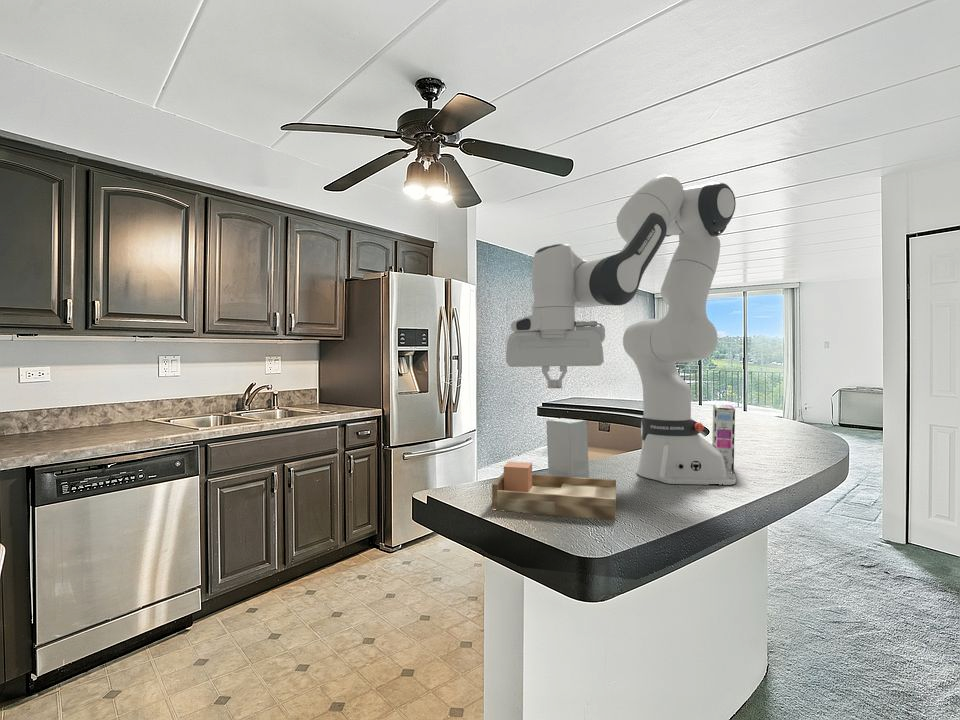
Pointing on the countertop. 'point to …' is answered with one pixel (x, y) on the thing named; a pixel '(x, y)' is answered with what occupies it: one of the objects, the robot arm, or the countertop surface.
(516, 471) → the block
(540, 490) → the wooden tray
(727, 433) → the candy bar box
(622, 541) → the countertop surface
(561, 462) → the skincare box
